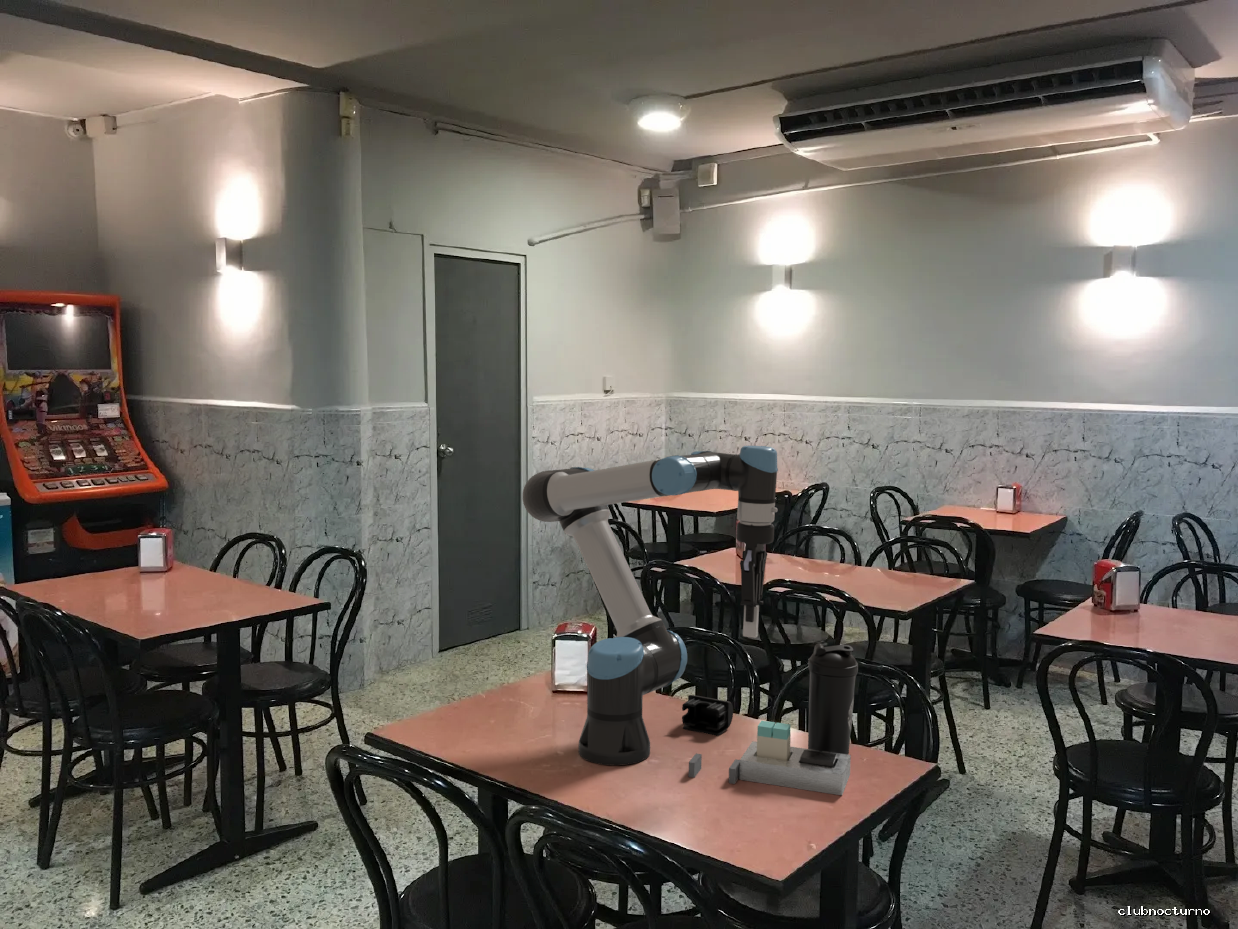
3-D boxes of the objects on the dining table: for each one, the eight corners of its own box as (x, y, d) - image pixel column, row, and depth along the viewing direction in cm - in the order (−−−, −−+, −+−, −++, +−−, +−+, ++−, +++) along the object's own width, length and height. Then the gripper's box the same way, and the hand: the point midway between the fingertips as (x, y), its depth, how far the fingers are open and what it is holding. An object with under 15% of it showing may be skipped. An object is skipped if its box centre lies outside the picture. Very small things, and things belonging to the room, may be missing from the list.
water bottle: (856, 763, 204) (862, 654, 202) (806, 760, 204) (812, 651, 202) (848, 745, 214) (854, 641, 212) (801, 742, 215) (806, 638, 213)
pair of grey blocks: (688, 776, 196) (688, 762, 195) (695, 767, 200) (695, 753, 200) (734, 784, 192) (735, 769, 192) (740, 774, 197) (741, 760, 197)
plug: (756, 774, 197) (757, 726, 196) (760, 768, 200) (761, 720, 200) (786, 779, 195) (787, 730, 194) (789, 773, 198) (790, 724, 197)
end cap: (733, 727, 224) (733, 698, 224) (720, 737, 218) (721, 707, 218) (693, 719, 229) (693, 691, 229) (680, 729, 223) (680, 699, 222)
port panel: (739, 779, 194) (739, 755, 194) (752, 760, 205) (752, 736, 204) (842, 795, 187) (842, 770, 187) (850, 774, 198) (850, 750, 197)
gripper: (766, 528, 192) (760, 646, 195) (781, 519, 204) (775, 631, 207) (728, 525, 195) (723, 641, 197) (746, 516, 207) (740, 626, 209)
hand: (750, 636), depth 202 cm, fingers closed
